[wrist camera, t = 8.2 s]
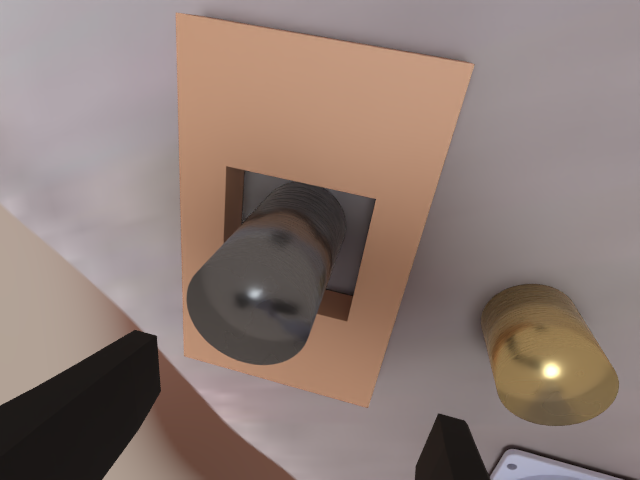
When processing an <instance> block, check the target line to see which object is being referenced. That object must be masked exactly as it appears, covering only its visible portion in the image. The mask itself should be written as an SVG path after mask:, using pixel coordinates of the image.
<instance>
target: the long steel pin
mask: <svg viewBox="0 0 640 480" xmlns="http://www.w3.org/2000/svg"><path fill="white" fill-rule="evenodd" d="M345 231H346V220H345V215H344V213H343V210H342V208H341V206H340V204H339V203H338V201H337V200H336V199H335V198H334V196H332V195H331V194H330V193H329V192H328V191H326V190H325V189H323V188H322V187H319V186H315V185H310V184H306V183H301V182H291V183H287V184H284V185H282V186H280V187H278V188H277V189H275V190H274V191H273V192H272V193H271V194H270V195H269V196H268V197H267V198H266V199H265V200H264V201H263V202H262V204H261V205H260V206H259V207H258V208H257V209H256V210H255V211H254V212H253V213H252V214H251V215H250V216H249V217H248V218H247V219H246V220H245V221H244V223H243V224H242V225H241V226H240V227H239V228H238V229H237V230H236V231H235V232H234V233H233V234H232V235H231V236H230V237H229V238H228V239H227V241H226V242H225V243H224V244H223V245H222V246H221V247H220V248H219V249H218V250H217V251H216V252H215V253H214V254H213V255H212V256H211V257H210V259H209V260H208V261H207V262H206V263H205V264H204V265H203V266H202V267H201V268H200V269H199V270H198V271H197V272H196V274H195V275H194V276H193V277H192V279H191V281H190V283H189V286H188V289H187V297H186V302H187V309H188V312H189V315H190V318H191V320H192V322H193V324H194V326H195V328H196V329H197V330H198V332H199V333H200V334H201V336H202V337H203V338H204V339H205V340H206V341H207V342H208V343H209V344H210V345H211V346H213V347H214V348H215V349H217V350H218V351H220V352H221V353H223V354H225V355H226V356H228V357H230V358H233V359H235V360H238V361H241V362H244V363H248V364H254V365H273V364H278V363H282V362H284V361H287V360H289V359H291V358H292V357H294V356H295V355H296V354H298V353H299V352H300V351H301V350H302V348H303V347H304V345H305V344H306V342H307V340H308V337H309V334H310V332H311V329H312V326H313V323H314V320H315V318H316V315H317V312H318V309H319V306H320V303H321V301H322V298H323V295H324V292H325V289H326V287H327V284H328V281H329V278H330V275H331V273H332V270H333V267H334V264H335V261H336V258H337V256H338V253H339V250H340V247H341V244H342V242H343V239H344V236H345Z"/></svg>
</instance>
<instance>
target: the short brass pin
mask: <svg viewBox="0 0 640 480" xmlns="http://www.w3.org/2000/svg"><path fill="white" fill-rule="evenodd" d="M481 326H482V331H483V335H484V339H485V343H486V347H487V351H488V355H489V359H490V364H491V368H492V372H493V376H494V380H495V384H496V388H497V392H498V395H499V398H500V400H501V402H502V403H503V405H504V406H505V407H506V408H507V409H508V410H509V411H510V412H512V413H513V414H514V415H516V416H518V417H520V418H522V419H524V420H526V421H529V422H532V423H536V424H541V425H548V426H565V425H572V424H577V423H581V422H584V421H587V420H590V419H592V418H594V417H596V416H598V415H599V414H601V413H602V412H604V411H605V410H606V409H607V408H608V407H609V406H610V405H611V404H612V403H613V401H614V400H615V398H616V396H617V393H618V389H619V381H618V376H617V374H616V372H615V370H614V368H613V367H612V365H611V364H610V362H609V360H608V359H607V357H606V355H605V354H604V352H603V351H602V349H601V347H600V346H599V344H598V342H597V341H596V339H595V338H594V336H593V334H592V333H591V331H590V330H589V328H588V326H587V325H586V323H585V321H584V320H583V318H582V317H581V315H580V313H579V312H578V310H577V309H576V307H575V305H574V304H573V302H572V301H571V299H570V298H569V297H568V296H567V295H565V294H564V293H563V292H561V291H559V290H557V289H555V288H553V287H549V286H546V285H540V284H524V285H518V286H514V287H511V288H508V289H506V290H504V291H502V292H500V293H498V294H497V295H496V296H494V297H493V298H492V299H491V300H490V301H489V302H488V303H487V305H486V306H485V308H484V310H483V313H482V317H481Z"/></svg>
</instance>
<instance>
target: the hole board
mask: <svg viewBox="0 0 640 480" xmlns="http://www.w3.org/2000/svg"><path fill="white" fill-rule="evenodd" d="M176 42H177V84H178V125H179V167H180V209H181V250H182V292H183V334H184V356H186V357H189V358H193V359H196V360H200V361H203V362H207V363H210V364H214V365H217V366H221V367H225V368H228V369H232V370H235V371H239V372H242V373H246V374H249V375H253V376H256V377H260V378H263V379H267V380H270V381H274V382H278V383H281V384H285V385H288V386H292V387H295V388H299V389H302V390H306V391H309V392H313V393H316V394H320V395H324V396H327V397H331V398H334V399H338V400H341V401H345V402H348V403H352V404H355V405H359V406H362V407H366V408H368V406H369V403H370V400H371V397H372V394H373V390H374V387H375V384H376V381H377V377H378V374H379V371H380V368H381V364H382V361H383V358H384V355H385V352H386V348H387V345H388V342H389V339H390V335H391V332H392V329H393V326H394V323H395V319H396V316H397V313H398V310H399V306H400V303H401V300H402V297H403V294H404V290H405V287H406V284H407V281H408V277H409V274H410V271H411V268H412V265H413V261H414V258H415V255H416V252H417V248H418V245H419V242H420V239H421V236H422V232H423V229H424V226H425V223H426V219H427V216H428V213H429V210H430V207H431V203H432V200H433V197H434V194H435V190H436V187H437V184H438V181H439V178H440V174H441V171H442V168H443V165H444V161H445V158H446V155H447V152H448V149H449V145H450V142H451V139H452V136H453V132H454V129H455V126H456V123H457V120H458V116H459V113H460V110H461V107H462V103H463V100H464V97H465V94H466V91H467V87H468V84H469V81H470V78H471V74H472V71H473V68H474V65H475V64H472V63H469V62H465V61H459V60H454V59H448V58H442V57H436V56H431V55H425V54H419V53H413V52H407V51H402V50H396V49H390V48H384V47H378V46H373V45H367V44H361V43H355V42H349V41H344V40H338V39H332V38H326V37H321V36H315V35H309V34H303V33H297V32H292V31H286V30H280V29H274V28H268V27H263V26H257V25H251V24H245V23H239V22H234V21H228V20H222V19H216V18H211V17H205V16H198V15H190V14H182V13H176ZM244 170H246V171H251V172H255V173H260V174H264V175H269V176H274V177H278V178H283V179H287V180H292V181H296V182H301V183H306V184H310V185H315V186H319V187H324V188H328V189H333V190H337V191H342V192H347V193H351V194H356V195H360V196H365V197H369V198H374V199H376V201H375V206H374V210H373V214H372V218H371V223H370V227H369V231H368V235H367V240H366V244H365V248H364V252H363V257H362V261H361V265H360V270H359V274H358V278H357V282H356V287H355V291H354V295H353V296H349V295H345V294H341V293H337V292H333V291H329V290H325V292H324V295H323V298H322V301H321V303H320V306H319V309H318V312H317V315H316V318H315V320H314V323H313V326H312V329H311V332H310V334H309V337H308V340H307V342H306V344H305V345H304V347H303V348H302V350H301V351H300V352H299V353H298V354H296V355H295V356H294V357H292V358H291V359H289V360H287V361H284V362H282V363H278V364H273V365H254V364H248V363H244V362H241V361H238V360H235V359H233V358H230V357H228V356H226V355H225V354H223V353H221V352H220V351H218V350H217V349H215V348H214V347H213V346H211V345H210V344H209V343H208V342H207V341H206V340H205V339H204V338H203V337H202V336H201V334H200V333H199V332H198V330H197V329H196V328H195V326H194V324H193V322H192V320H191V318H190V315H189V312H188V309H187V302H186V297H187V289H188V286H189V283H190V281H191V279H192V277H193V276H194V275H195V274H196V272H197V271H198V270H199V269H200V268H201V267H202V266H203V265H204V264H205V263H206V262H207V261H208V260H209V259H210V257H211V256H212V255H213V254H214V253H215V252H216V251H217V250H218V249H219V248H220V247H221V246H222V245H223V244H224V243H225V242H226V241H227V239H228V238H229V237H230V236H231V235H232V234H233V233H234V232H235V231H236V230H237V229H238V228H239V227H240V226H241V218H242V201H243V184H244Z"/></svg>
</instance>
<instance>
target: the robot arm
mask: <svg viewBox="0 0 640 480" xmlns="http://www.w3.org/2000/svg"><path fill="white" fill-rule="evenodd" d="M159 375H160V374H159V361H158V347H157V336H155V335H152V334H148V333H144V332H141V331H137V330H134V331H133V332H131V333H129V334H127V335H125V336H124V337H122V338H120V339H118V340H117V341H115V342H113V343H112V344H110V345H108V346H106V347H105V348H103V349H101V350H100V351H98V352H96V353H95V354H93V355H91V356H89V357H88V358H86V359H84V360H82V361H81V362H79V363H78V364H76V365H74V366H72V367H70V368H69V369H67V370H65V371H63V372H62V373H60V374H58V375H56V376H55V377H53V378H51V379H49V380H47V381H46V382H44V383H42V384H40V385H39V386H37V387H35V388H33V389H31V390H29V391H27V392H25V393H23V394H21V395H20V396H18V397H16V398H14V399H12V400H10V401H8V402H6V403H4V404H2V405H1V406H0V480H102V479H103V478H104V476H105V475H106V474H107V472H108V471H109V469H110V468H111V467H112V465H113V464H114V463H115V461H116V460H117V459H118V457H119V456H120V454H121V453H122V452H123V450H124V449H125V448H126V446H127V445H128V443H129V442H130V441H131V439H132V438H133V436H134V435H135V434H136V432H137V431H138V430H139V428H140V426H141V425H142V423H143V421H144V420H145V418H146V416H147V415H148V413H149V411H150V409H151V408H152V406H153V404H154V402H155V400H156V399H157V397H158V395H159V393H160V391H161V388H160V376H159ZM415 480H623V479H620V478H616V477H613V476H609V475H606V474H602V473H599V472H595V471H592V470H588V469H584V468H581V467H577V466H574V465H570V464H567V463H563V462H560V461H556V460H553V459H549V458H546V457H542V456H538V455H535V454H531V453H528V452H524V451H521V450H517V449H509V450H507V451H506V452H505V453H504V454H503V456H502V458H501V459H500V461H499V463H498V464H497V466H496V468H495V469H494V471H493V473H492V474H491V476H490V477H489V475H488V472H487V470H486V468H485V466H484V463H483V461H482V459H481V456H480V454H479V451H478V449H477V447H476V444H475V442H474V439H473V437H472V434H471V432H470V429H469V427H468V425H467V423H466V422H465V421H464V420H460V419H457V418H453V417H449V416H446V415H442V414H439V413H438V416H437V418H436V420H435V423H434V425H433V427H432V430H431V432H430V434H429V437H428V439H427V441H426V444H425V446H424V448H423V451H422V453H421V455H420V458H419V460H418V462H417V465H416V471H415Z"/></svg>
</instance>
